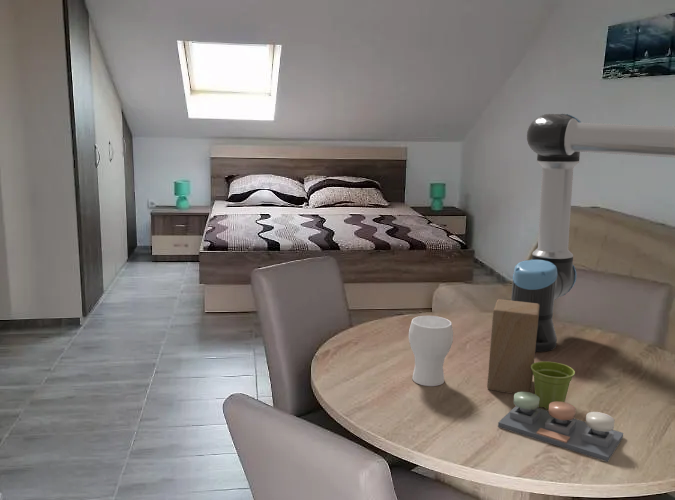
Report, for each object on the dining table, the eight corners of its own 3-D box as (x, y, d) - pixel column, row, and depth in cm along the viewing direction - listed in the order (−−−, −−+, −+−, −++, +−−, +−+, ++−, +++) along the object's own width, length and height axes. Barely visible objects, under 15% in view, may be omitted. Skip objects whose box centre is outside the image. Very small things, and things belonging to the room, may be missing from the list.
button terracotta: (544, 421, 131) (545, 407, 130) (552, 412, 135) (553, 399, 134) (569, 429, 128) (571, 415, 127) (577, 419, 132) (579, 406, 132)
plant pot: (521, 396, 149) (524, 361, 147) (560, 395, 150) (564, 360, 148) (536, 414, 140) (540, 377, 138) (578, 413, 141) (582, 377, 139)
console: (497, 426, 134) (498, 416, 133) (518, 406, 143) (519, 397, 143) (607, 461, 121) (609, 450, 121) (622, 437, 131) (624, 427, 130)
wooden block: (532, 380, 158) (539, 303, 153) (530, 397, 148) (538, 315, 144) (491, 374, 161) (497, 298, 157) (486, 390, 152) (493, 309, 147)
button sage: (509, 410, 135) (510, 397, 135) (518, 402, 139) (519, 389, 139) (533, 418, 132) (534, 404, 132) (541, 409, 136) (543, 396, 136)
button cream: (581, 432, 127) (583, 418, 126) (588, 422, 131) (590, 409, 130) (609, 440, 124) (610, 426, 123) (615, 430, 128) (617, 416, 127)
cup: (401, 384, 153) (404, 325, 150) (412, 368, 163) (415, 312, 160) (445, 392, 150) (449, 331, 147) (453, 375, 160) (457, 318, 156)
